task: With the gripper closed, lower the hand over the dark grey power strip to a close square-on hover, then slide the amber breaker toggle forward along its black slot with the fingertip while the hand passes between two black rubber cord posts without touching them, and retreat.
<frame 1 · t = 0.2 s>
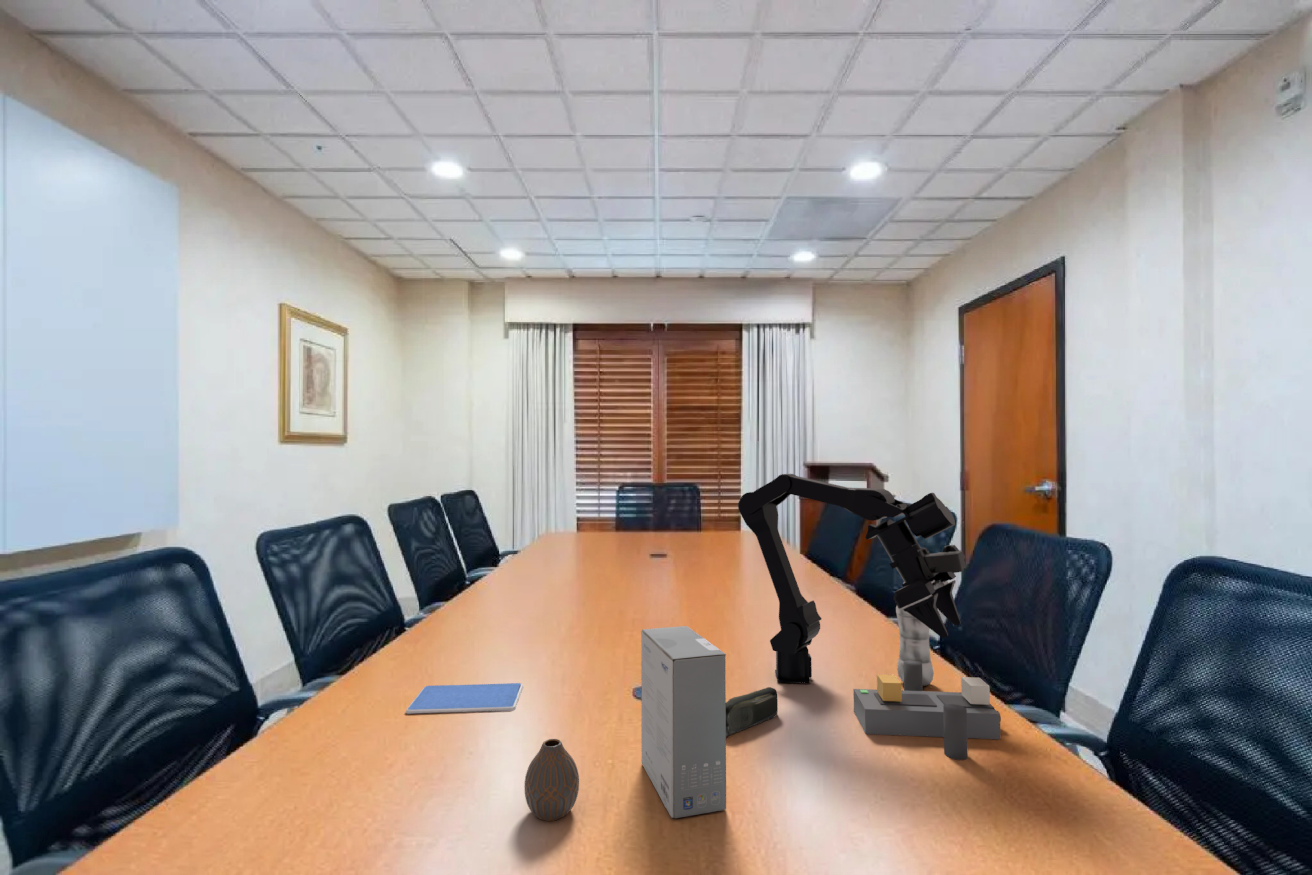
hand: (952, 630, 110), 15 cm above the table, tool tilted 30°, fingers open, 9 cm apart
tablet computer: (467, 703, 117), on the table
toggle ivory: (975, 690, 104), point 6 cm above the table, slide at 3.5 cm
plastic bottle: (915, 685, 124), on the table
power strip: (923, 724, 105), on the table
toggle amber: (889, 687, 106), point 6 cm above the table, slide at 0.0 cm
vase: (551, 813, 80), on the table
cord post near: (955, 754, 94), on the table
hard drive box: (680, 787, 86), on the table
dark green rounded bar: (747, 726, 105), on the table
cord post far: (913, 701, 115), on the table
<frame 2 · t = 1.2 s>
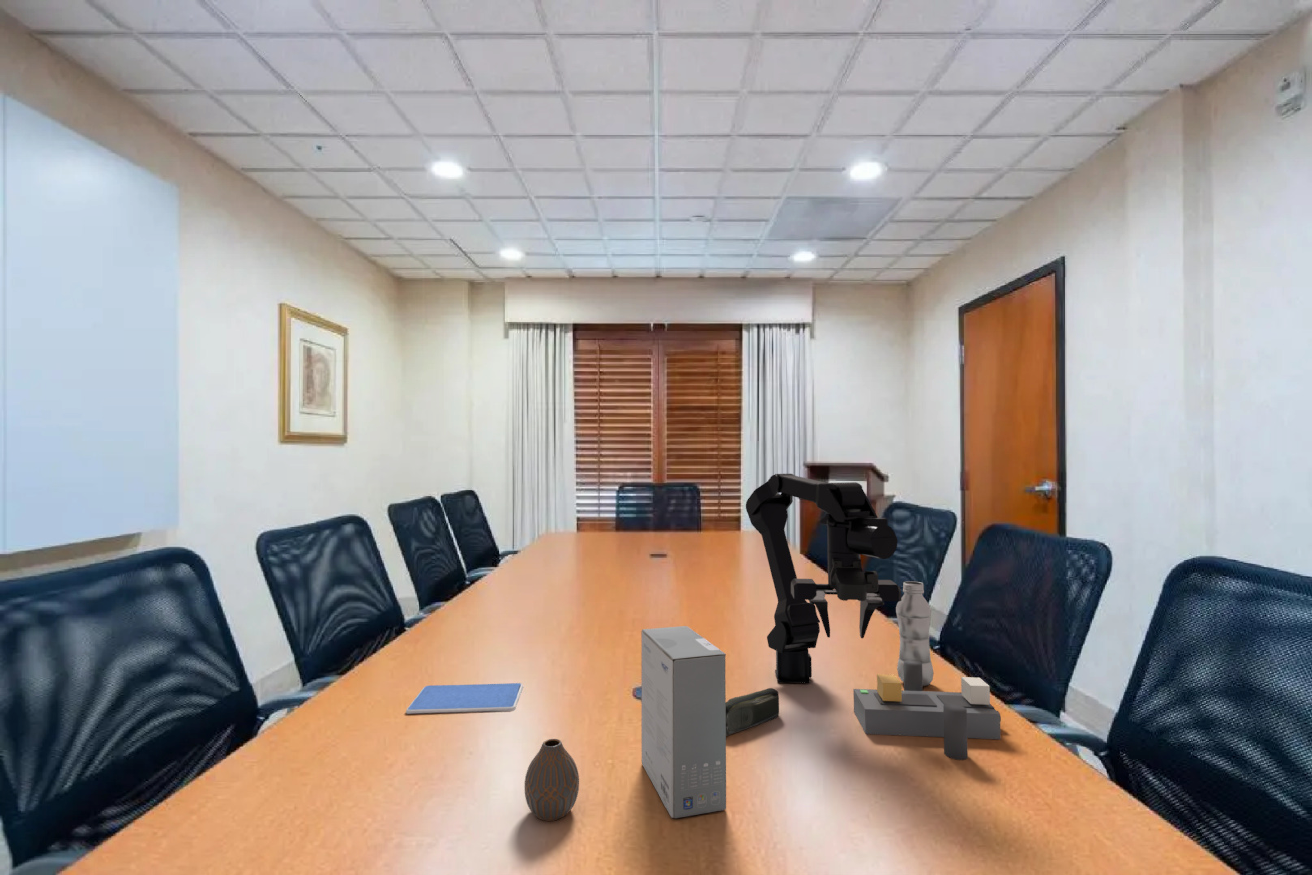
hand: (845, 637, 113), 12 cm above the table, tool pointing down, fingers open, 6 cm apart
nothing on the table moved.
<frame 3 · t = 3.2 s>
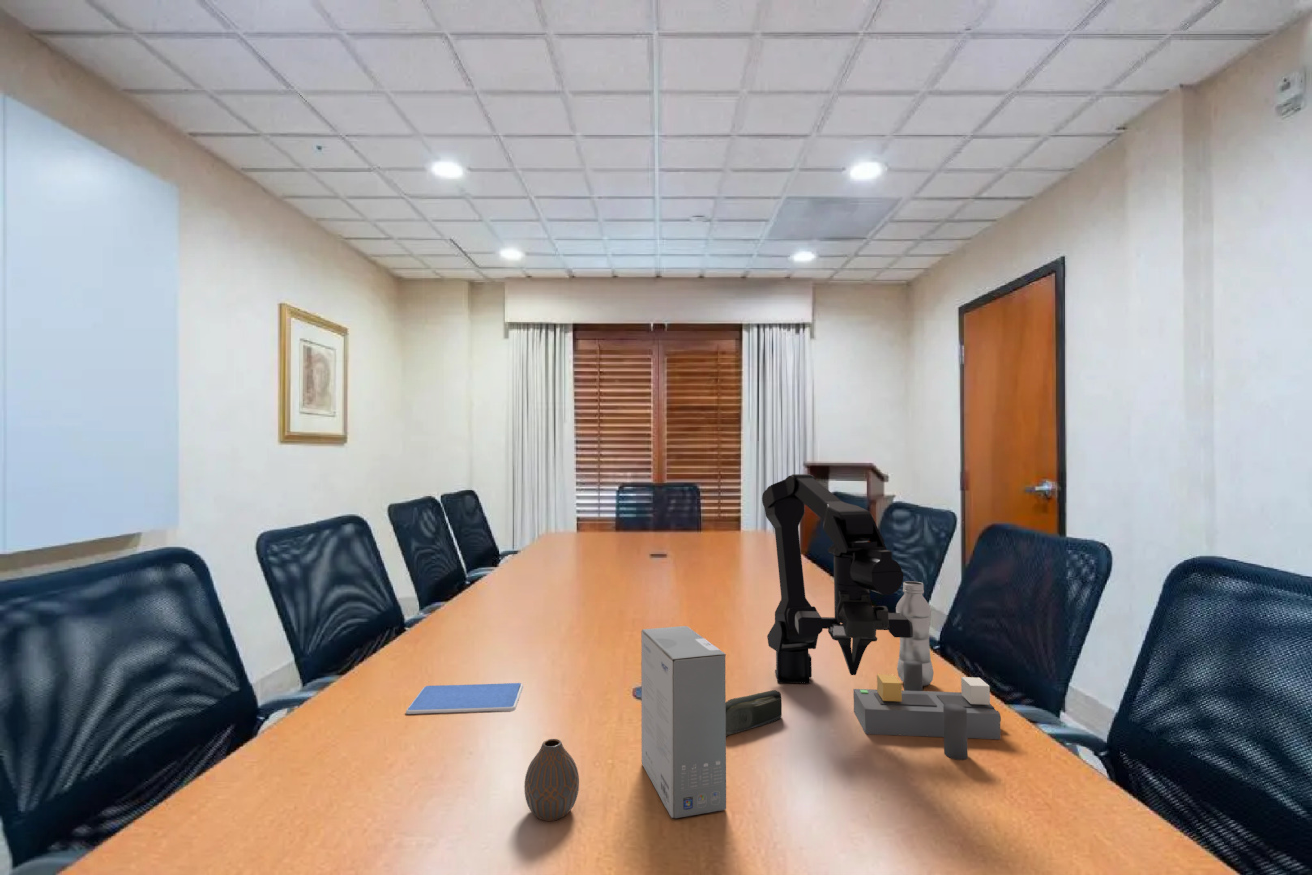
hand: (852, 674, 107), 8 cm above the table, tool pointing down, fingers closed
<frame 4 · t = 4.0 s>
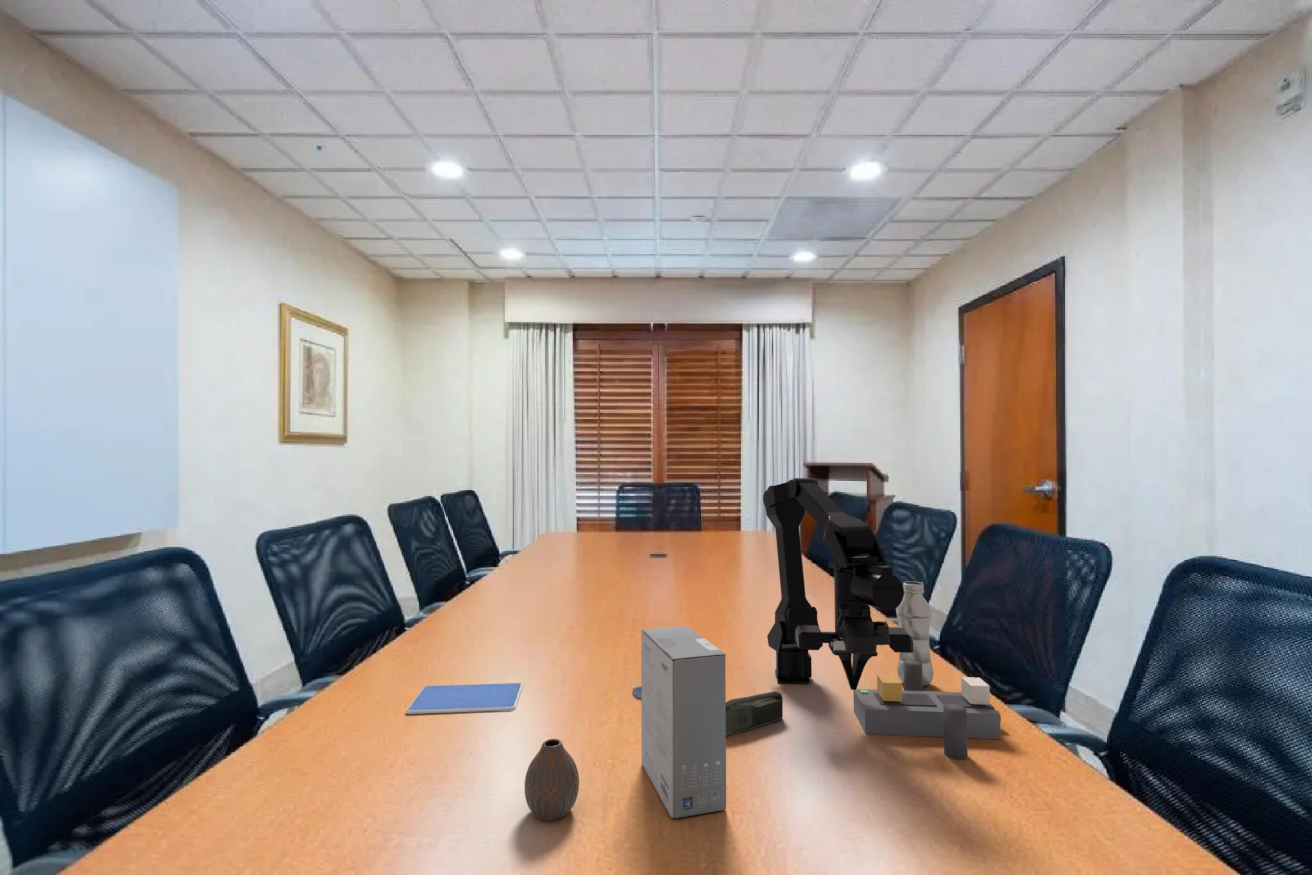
hand: (853, 689, 106), 6 cm above the table, tool pointing down, fingers closed
nothing on the table moved.
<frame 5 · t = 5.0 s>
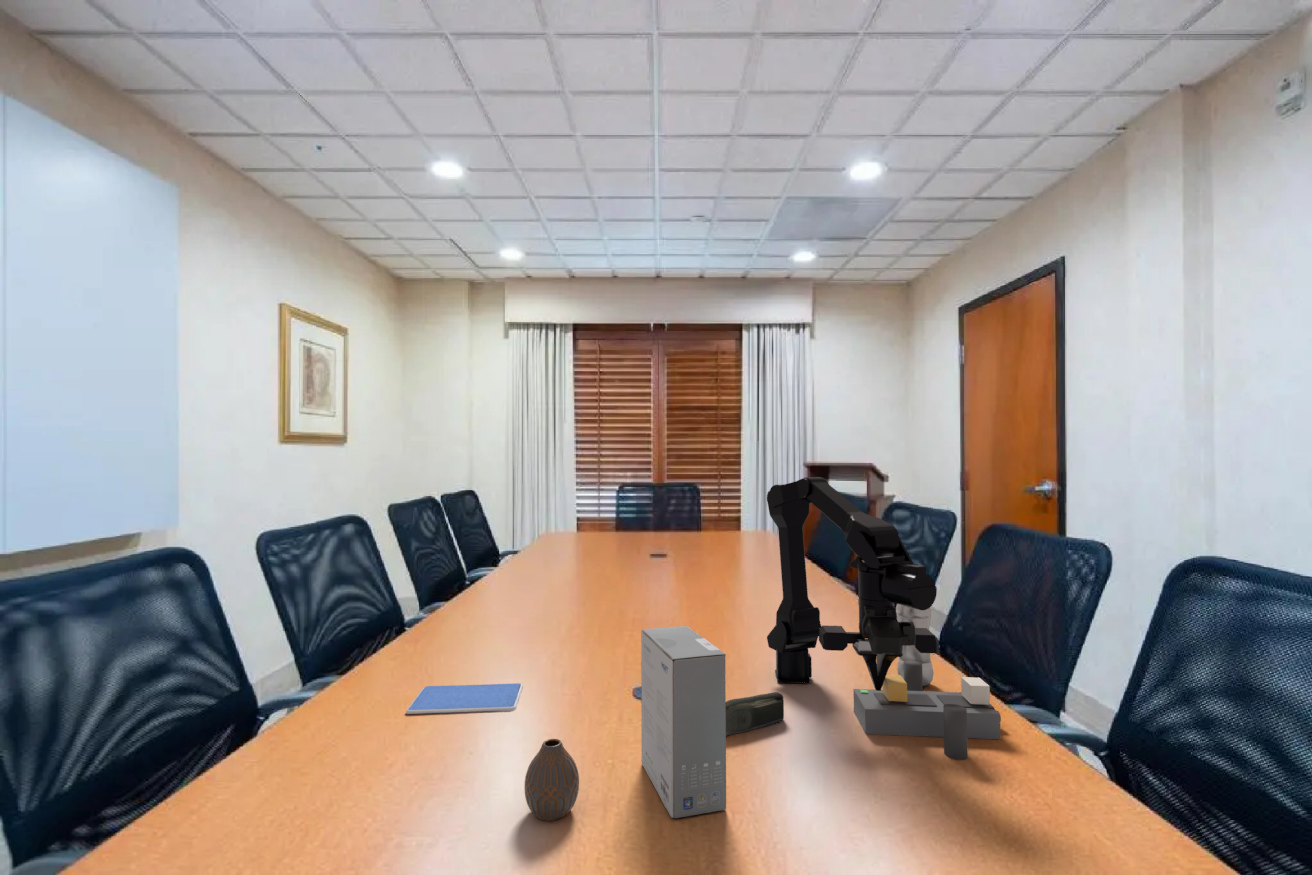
hand: (877, 689, 106), 6 cm above the table, tool pointing down, fingers closed
toggle amber: (894, 687, 106), point 6 cm above the table, slide at 0.9 cm, touching gripper
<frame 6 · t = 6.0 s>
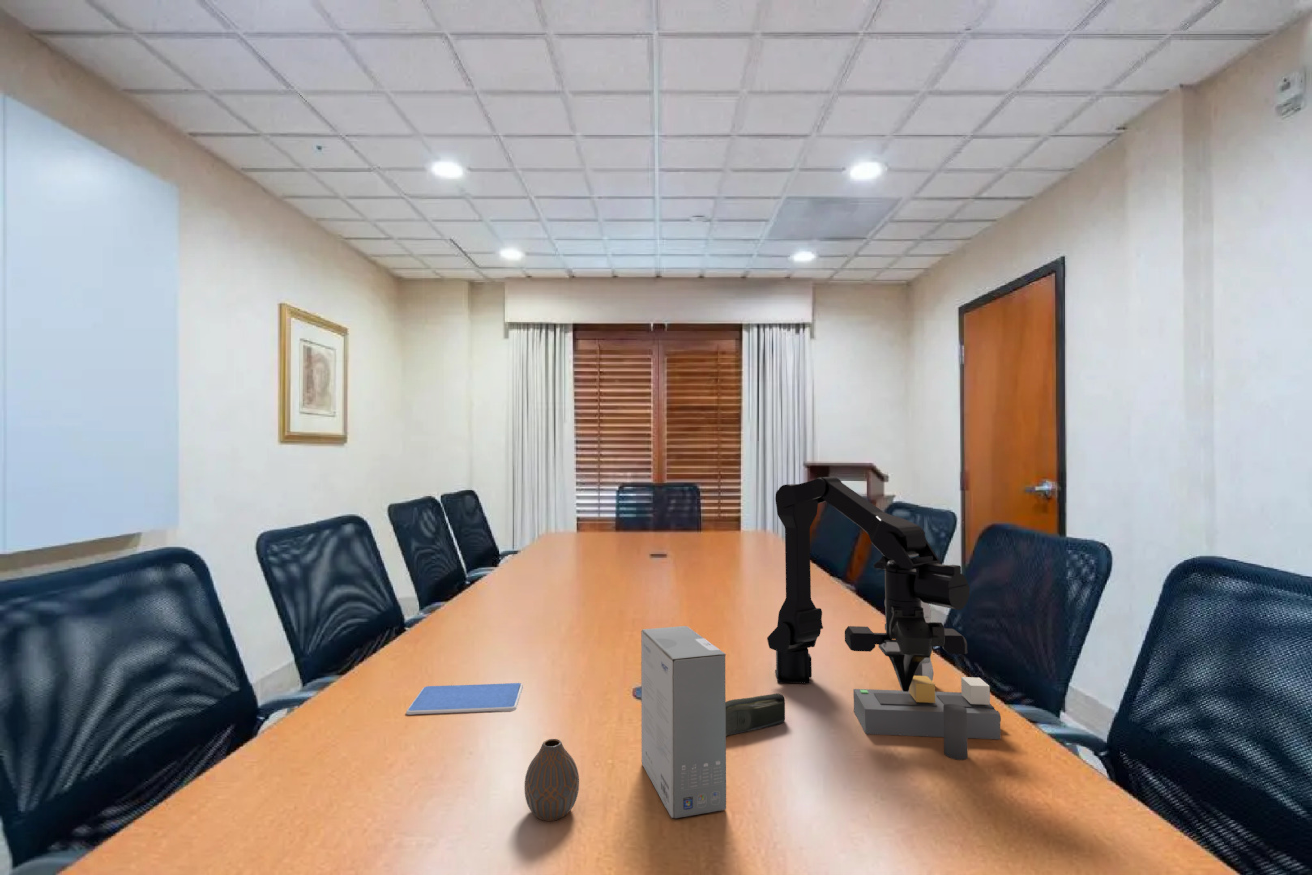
hand: (904, 690, 105), 6 cm above the table, tool pointing down, fingers closed
toggle amber: (921, 688, 105), point 6 cm above the table, slide at 5.4 cm, touching gripper
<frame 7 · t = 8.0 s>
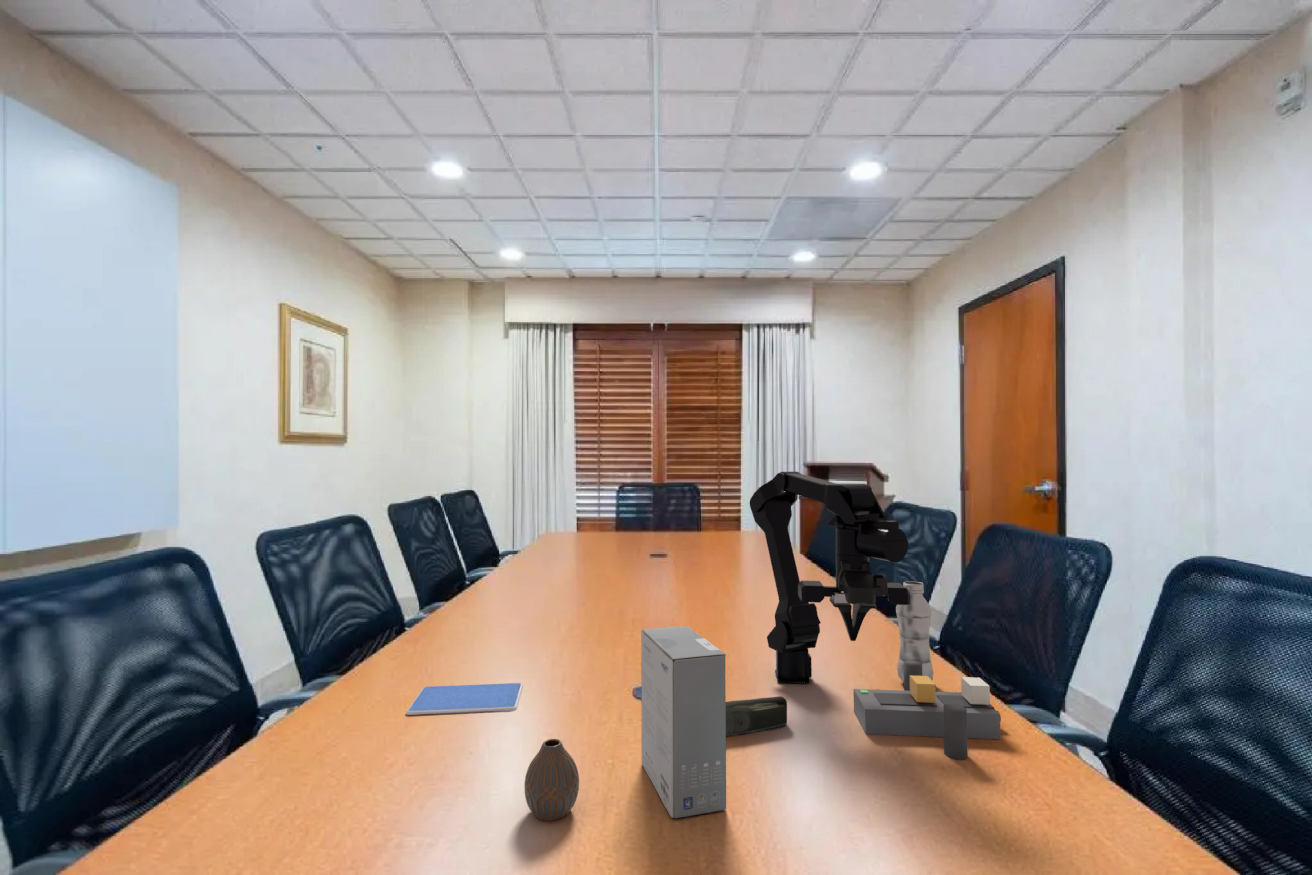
hand: (852, 640, 112), 12 cm above the table, tool pointing down, fingers closed
toggle amber: (922, 688, 105), point 6 cm above the table, slide at 5.5 cm
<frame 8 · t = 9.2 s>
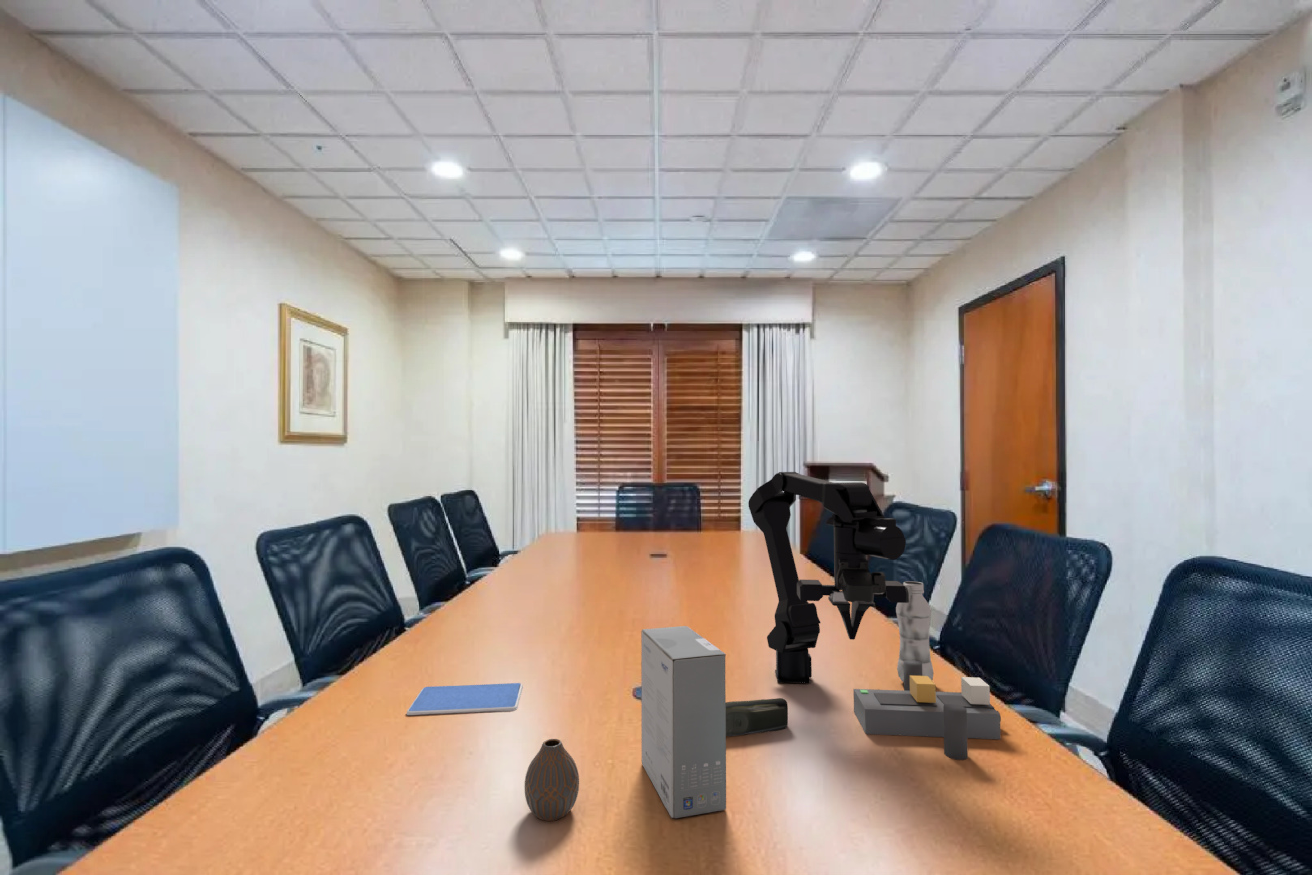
hand: (851, 638, 112), 13 cm above the table, tool pointing down, fingers closed
at the end: toggle amber slide at 5.5 cm; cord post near moved 0.0 cm from its start; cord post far moved 0.0 cm from its start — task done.
